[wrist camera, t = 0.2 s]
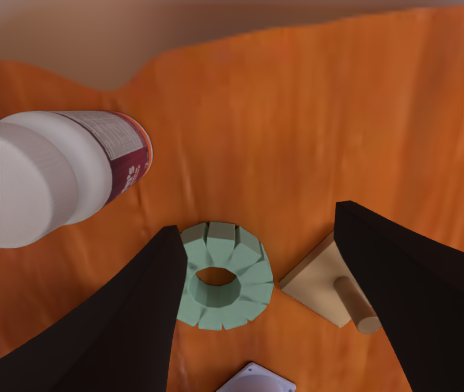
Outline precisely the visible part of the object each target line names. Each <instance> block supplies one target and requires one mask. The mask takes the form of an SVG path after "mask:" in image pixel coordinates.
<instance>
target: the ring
mask: <svg viewBox="0 0 464 392" xmlns="http://www.w3.org/2000/svg"><path fill="white" fill-rule="evenodd" d="M180 236H181V239H182V242H183V245H184V248H185V250H186V253H187V256H188V263H187V274H186V280H185V285H184V289H183V294H182V298H181V302H180V306H179V311H178V315H177V319H179V320H181V321H183V322H185V323H186V324H188V325H190V326H192V327H194V326H195V325H196V324H197V323H198V328H199V329H210V330H221V328H222V324H223V326H224V328H225V329H226V330H228V329H231V328H234V327H238V326H241V325H244V324H247V319H248V320H250V321H252V320H253V319H255V318H256V317H257V316H258V315H259V314H260V313H261V312H262V311H263V310H264V309H265V308H266V307H267V305H266V303H269V302H270V298H271V294H272V290H273V286H274V283H273V275H272V271H271V267H270V263H269V259H268V257H267V255H266V252H265V250H264V248H263V245H262V243H261V242H258V238H257V237H255V236H254V235H252V234H251V233H249V232H248V231H246V230H245V229H243V228H242V227H240V226H239V227H238V228H237V229H236V230H235V224H231V223H222V222H213V221H210V225H209V228H208V226H207V224H206V222H203V223H201V224H198V225H195V226H193V227H190V228H187V229H185V230H183V232H182V234H181V233H180ZM208 267H220V268H226V269H227V270H229V271H230V272H232V273H234V274H235V275H236V276H237V277H236V278H235V279H234V280H233V281H232V282H231V283H228V284H225V285H222V286H213V285H208V284H206V283H204V282H203V281H201V280H199V279H198V277H197V275H196V274H195V273H196V272H197V271H199V270H202V269H205V268H208Z"/></svg>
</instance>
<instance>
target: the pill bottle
mask: <svg viewBox="0 0 464 392" xmlns="http://www.w3.org/2000/svg"><path fill="white" fill-rule="evenodd" d="M152 158H153V150H152V145H151V142H150V139H149V136H148V135H147V133H146V132H145V130H144V129H143V128H142V127H141V125H140V124H138V123H137V122H136V121H135V120H134V119H132V118H131V117H129V116H127V115H125V114H122V113H119V112H114V111H29V112H21V113H16V114H13V115H10V116H8V117H5V118H3V119H2V120H0V248H18V247H23V246H26V245H29V244H31V243H34V242H36V241H37V240H39V239H41V238H42V237H44V236H45V235H47V234H48V233H50V232H51V231H53V230H55V229H57V228H58V227H60V226H61V225H69V224H74V223H78V222H81V221H83V220H85V219H87V218H89V217H91V216H92V215H94V214H95V213H96V212H98V211H99V210H100V209H102V208H103V207H104V206H106V205H107V204H108V203H110V202H111V201H112V200H114V199H115V198H117V197H118V196H119V195H120V194H122V193H123V192H124V191H126V190H127V189H128V188H130V187H131V186H132V185H133V184H135V183H136V182H138V181H139V180H140V179H141V178H142V177H143V176H144V175H145V174H146V173H147V172H148V170H149V168H150V166H151V163H152Z"/></svg>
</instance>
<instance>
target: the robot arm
mask: <svg viewBox="0 0 464 392" xmlns="http://www.w3.org/2000/svg"><path fill="white" fill-rule="evenodd" d="M333 239H334V241H335V243H336V246H337V248H338V250H339V252H340V255H341V257H342V259H343V260H344V262H345V264H346V265H347V267H348V269H349V270H350V272H351V274H352V275H353V277H354V279H355V280H356V282H357V283H358V285H359V287H360V288H361V290H362V291H363V293H364V295H365V296H366V298H367V299H368V301H369V303H370V304H371V306H372V308H373V310H374V311H375V313H376V315H377V317H378V319H379V321H380V323H381V325H382V327H383V329H384V331H385V333H386V335H387V337H388V339H389V341H390V343H391V345H392V347H393V349H394V351H395V354H396V356H397V358H398V360H399V362H400V364H401V366H402V369H403V371H404V373H405V375H406V377H407V380H408V382H409V384H410V387H411V389H412V391H413V392H464V252H462V251H459V250H457V249H454V248H451V247H449V246H446V245H443V244H441V243H439V242H436V241H434V240H431V239H429V238H427V237H425V236H422V235H420V234H418V233H416V232H413V231H411V230H409V229H407V228H405V227H403V226H401V225H399V224H397V223H395V222H393V221H391V220H389V219H387V218H385V217H383V216H381V215H379V214H377V213H375V212H373V211H371V210H369V209H367V208H365V207H363V206H361V205H359V204H357V203H355V202H353V201H351V200H350V201H343V202H336V210H335V223H334V237H333ZM187 263H188V256H187V253H186V250H185V248H184V245H183V242H182V239H181V236H180V233H179V231H178V228H177V225H173V226H166V227H163V228H162V229H161V230H160V231H159V232H158V233H157V234H156V235H155V236H154V237H153V238H152V239H151V240H150V241H149V242H148V243H147V245H146V246H145V247H144V248H143V249H142V250H141V251H140V252H139V253H138V254H137V255H136V256H135V257H134V258H133V259H132V260H131V261H130V262H129V263H128V264H127V265H126V266H125V267H124V268H123V269H122V270H121V271H120V272H119V273H117V274H116V275H115V276H114V277H113V278H112V279H111V280H110V281H109V282H108V283H107V284H105V285H104V286H103V287H102V288H101V289H99V290H98V291H97V292H96V293H95V294H93V295H92V296H91V297H90V298H89V299H87V300H86V301H85V302H83V303H82V304H81V305H79V306H78V307H77V308H75V309H74V310H73V311H71V312H70V313H69V314H67V315H66V316H65V317H63V318H62V319H60V320H59V321H58V322H56V323H55V324H53V325H52V326H50V327H49V328H48V329H46V330H45V331H43V332H42V333H40V334H39V335H37V336H36V337H34V338H33V339H31V340H29V341H28V342H26V343H25V344H23V345H22V346H20V347H19V348H17V349H15V350H14V351H12V352H11V353H9V354H7V355H6V356H4V357H2V358H1V359H0V392H166V387H167V378H168V369H169V361H170V354H171V346H172V339H173V333H174V328H175V323H176V319H177V315H178V311H179V306H180V302H181V298H182V294H183V289H184V285H185V280H186V274H187ZM295 390H296V385H295V384H294V383H292V382H290V381H288V380H286V379H284V378H282V377H280V376H278V375H276V374H275V373H273V372H271V371H269V370H267V369H265V368H263V367H261V366H259V365H257V364H255V363H253V362H251V363H249V364H248V365H247V366H245V367H244V368H243V369H242V370H241V371H239V372H238V373H237V374H236V375H235V376H234V377H232V378H231V379H230V380H229V381H228V382H226V383H225V384H224V385H223V386H222V387H221V388H219V389H218V390H217V391H216V392H293V391H295Z"/></svg>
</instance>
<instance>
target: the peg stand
mask: <svg viewBox="0 0 464 392" xmlns="http://www.w3.org/2000/svg"><path fill="white" fill-rule="evenodd" d="M333 237H334V230H333V231H332V232H331V233H330V234H329V235H328V236H327V237H326V238H325V239H324V240H323V241H322V242H321V243H320V244H319V245H318V246H317V247H316V248H315V249H313V250H312V251H311V252H310V253H309V254H308V255H307V256H306V257H305V258H304V259H303V260H302V261H301V262H300V263H299V264H298V265H297V266H296V267H295V268H294V269H292V270H291V271H290V272H289V273H288V274H287V275H286V276H285V277H284V278H283V279H282V280H281V281H280V282H279V284H280V288H281V290H282V291H283V292H285V293H286V294H288V295H289V296H291V297H293V298H294V299H296V300H297V301H299V302H300V303H302V304H304V305H305V306H307V307H308V308H310V309H311V310H313V311H315V312H316V313H318V314H319V315H321V316H322V317H324V318H326V319H327V320H329V321H330V322H332V323H334V324H335V325H337V326H338V327H340V328H341V327H343V326H344V325H345V324H346V323H348V322H349V321H350V320H352V321H353V322H354V324H355V326H356V328H357V329H358V331H359V332H361V333H363V334H371V333H374V332H376V331H378V330H379V329H380V327H381V323H380V321H379V319H378V317H377V315H376V313H375V311H374V310H373V308H372V307H371V306H370V305H371V304H370V303H369V301H368V299H367V298H366V296H365V295H364V293H363V291H362V290H361V288H360V287H359V285H358V283H357V282H356V280H355V279H354V277H353V275H352V274H351V272H350V270H349V269H348V267H347V265H346V264H345V262H344V260H343V259H342V257H341V255H340V252H339V250H338V248H337V246H336V243H335V241H334V239H333Z"/></svg>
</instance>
